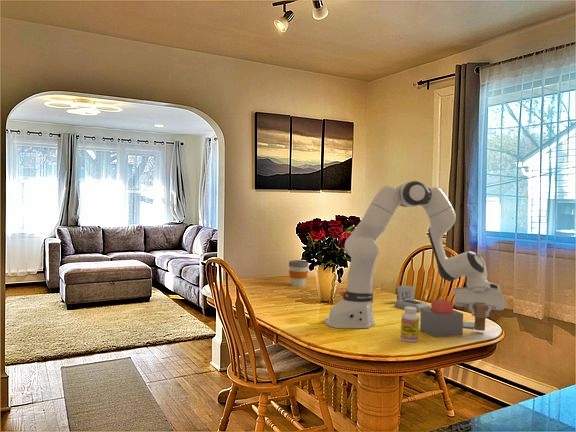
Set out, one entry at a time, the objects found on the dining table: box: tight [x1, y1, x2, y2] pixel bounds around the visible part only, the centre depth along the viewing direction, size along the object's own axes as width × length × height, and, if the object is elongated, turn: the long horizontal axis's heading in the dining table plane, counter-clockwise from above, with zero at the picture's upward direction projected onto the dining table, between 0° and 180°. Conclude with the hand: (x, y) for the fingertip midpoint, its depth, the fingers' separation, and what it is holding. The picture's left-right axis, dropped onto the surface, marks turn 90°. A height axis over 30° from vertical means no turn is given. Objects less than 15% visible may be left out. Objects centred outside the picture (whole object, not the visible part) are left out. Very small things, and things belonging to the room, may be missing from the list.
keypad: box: [394, 299, 431, 313], centre depth 242 cm, size 10×4×15 cm
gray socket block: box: [419, 307, 464, 338], centre depth 197 cm, size 13×11×9 cm
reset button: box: [430, 299, 454, 314], centre depth 197 cm, size 6×6×5 cm
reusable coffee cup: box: [288, 259, 309, 287], centre depth 300 cm, size 13×12×15 cm
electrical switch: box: [395, 285, 416, 302], centre depth 255 cm, size 9×5×9 cm, turn 104°
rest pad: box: [463, 321, 475, 330], centre depth 210 cm, size 9×9×1 cm
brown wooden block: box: [474, 302, 487, 332], centre depth 199 cm, size 4×4×11 cm
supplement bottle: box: [400, 306, 420, 343], centre depth 185 cm, size 7×7×13 cm
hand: (480, 315), depth 198 cm, fingers closed on brown wooden block, 4 cm apart
